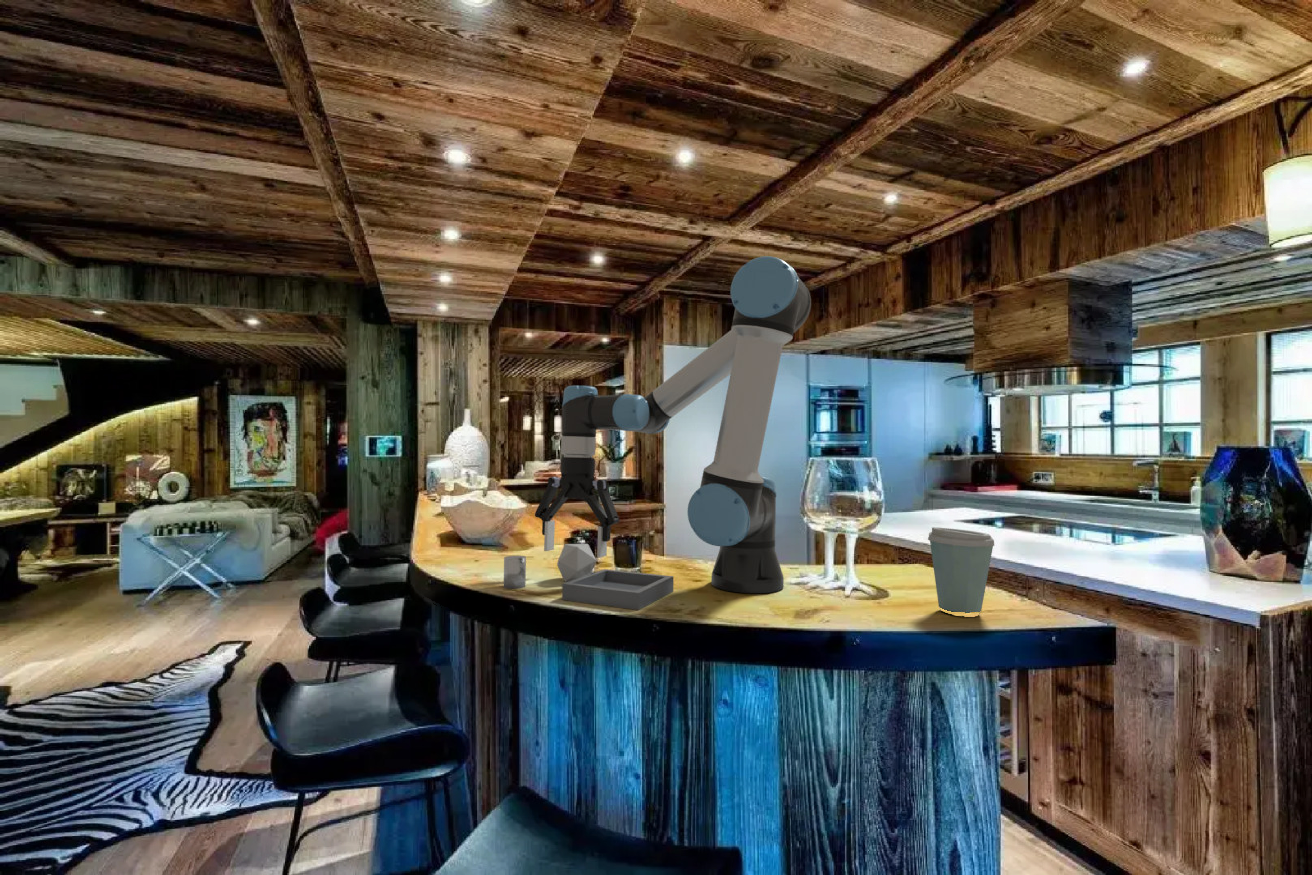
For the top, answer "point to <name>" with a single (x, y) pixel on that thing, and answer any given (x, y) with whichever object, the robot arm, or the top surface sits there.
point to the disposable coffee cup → (960, 567)
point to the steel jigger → (514, 572)
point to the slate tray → (618, 589)
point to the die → (575, 561)
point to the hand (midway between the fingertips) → (574, 553)
